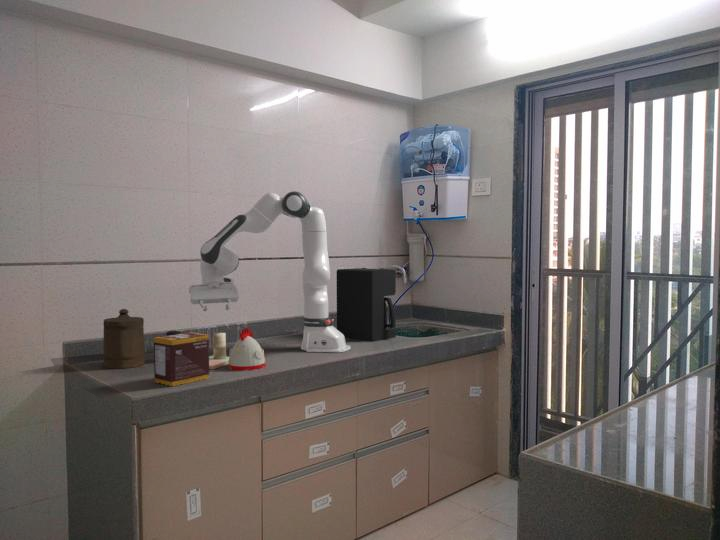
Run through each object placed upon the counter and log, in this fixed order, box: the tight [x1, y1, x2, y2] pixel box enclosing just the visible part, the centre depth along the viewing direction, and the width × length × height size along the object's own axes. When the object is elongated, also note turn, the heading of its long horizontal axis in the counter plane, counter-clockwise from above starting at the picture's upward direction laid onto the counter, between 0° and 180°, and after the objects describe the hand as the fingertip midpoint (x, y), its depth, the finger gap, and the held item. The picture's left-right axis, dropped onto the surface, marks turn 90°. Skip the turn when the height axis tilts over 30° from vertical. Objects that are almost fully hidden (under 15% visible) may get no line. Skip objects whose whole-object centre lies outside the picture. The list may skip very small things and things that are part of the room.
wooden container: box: [102, 308, 146, 370], centre depth 222 cm, size 15×15×22 cm
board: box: [209, 355, 230, 370], centre depth 224 cm, size 12×18×1 cm, turn 161°
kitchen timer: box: [227, 327, 266, 372], centre depth 218 cm, size 14×14×15 cm
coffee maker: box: [336, 267, 397, 343], centre depth 288 cm, size 28×20×35 cm
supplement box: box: [153, 331, 210, 387], centre depth 195 cm, size 10×15×16 cm
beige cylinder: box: [212, 332, 227, 359], centre depth 228 cm, size 5×5×10 cm
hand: (216, 309), depth 240 cm, fingers open, 8 cm apart
